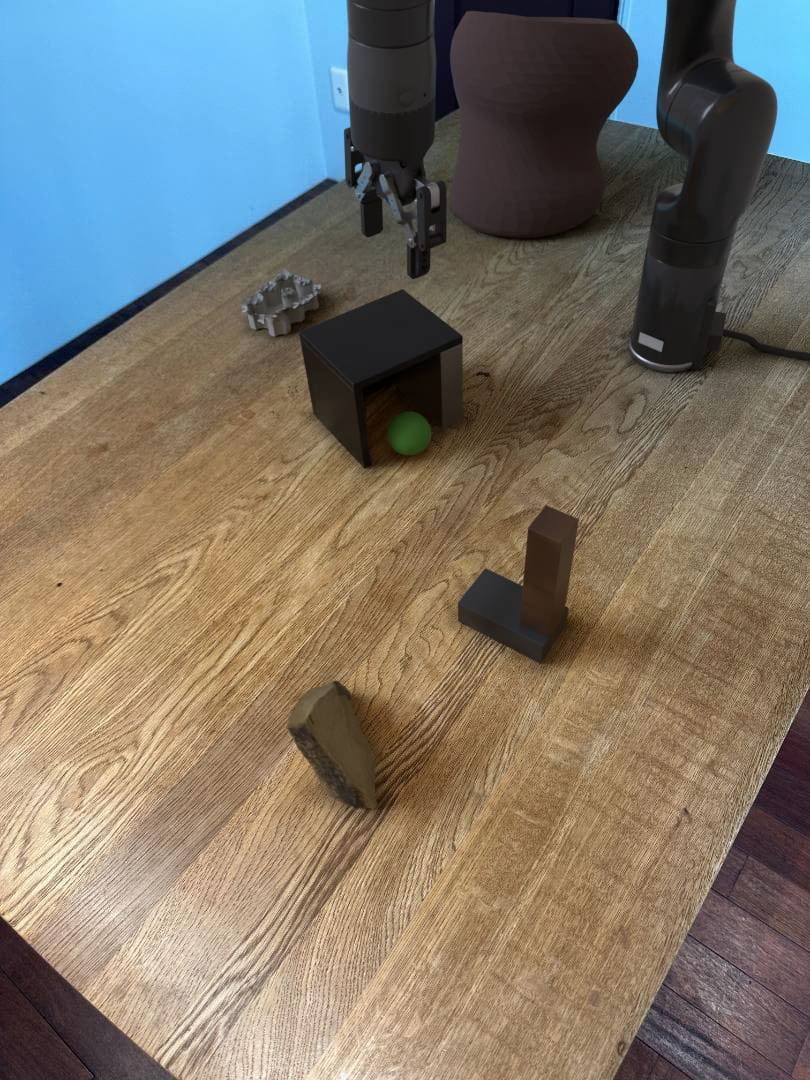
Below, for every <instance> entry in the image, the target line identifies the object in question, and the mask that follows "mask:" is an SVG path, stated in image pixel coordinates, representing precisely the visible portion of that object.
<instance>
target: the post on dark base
mask: <svg viewBox="0 0 810 1080" xmlns="http://www.w3.org/2000/svg"><path fill="white" fill-rule="evenodd" d="M579 522H580V519H579V518H577V517H575V516H573V515H570V514H568V513H566V512H563V511H561V510H559V509H556V508H554V507H551V506H549V505H548V504H547V505H546V504H545V506H543V508H542V509H541V511H540V512H539V513H538V515H537V516H536V517H535V518H534V520H533V521H531V523H530V525H528V527H527V533H526V536H527V537H526V545H525V557H524V569H523V579H522V584H520V583H518V582H516V581H513V580H511V579H510V578H507V577H505V576H503V575H501V574H500V573H497V572H495V571H492V570H491V569H489V568H487V567H485V568H484V569H483V570H482V571H481V573H480V574H479V575H478V576H477V578H476V579H475V580H474V581H473V583H472V584H471V585H470V586H469V588H468V589H467V591H465V593H464V594H463V596H461V598H460V599H459V600H458V602H457V622H458V623H460V624H462V625H464V626H466V627H468V628H470V629H472V630H474V631H475V632H477V633H480V634H481V635H483V636H486V637H488V638H490V639H491V640H494V641H495V642H497V643H499V644H501V645H503V646H505V647H506V648H509V649H511V650H513V651H515V652H517V653H519V654H520V655H522V656H524V657H526V658H528V659H529V660H532V661H534V662H536V663H538V664H540V665H541V664H543V662H544V660H545V659H546V657H547V656H548V655H549V653H550V651H551V650H552V648H553V647H554V645H556V642H557V641H558V639H559V638H560V636H561V635H562V634H563V632H564V630H566V628H567V623H568V616H569V611H570V608H569V607H568V606H567V599H568V594H569V593H568V592H569V586H570V579H571V573H572V567H573V561H574V554H575V547H576V541H577V535H578V527H579Z"/></svg>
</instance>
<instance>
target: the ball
mask: <svg viewBox="0 0 810 1080" xmlns="http://www.w3.org/2000/svg"><path fill="white" fill-rule="evenodd" d="M386 431H387V432H386V434H387V435H386V436H387V440H388V443H389V445H390V446H391V448H392V449H393V450H394V451H395V452H396V453H398V454H401V455H403V456H416V455H418V454H420V453H422V452H423V451H424V450H425V449H426V448H427V447H428V445H429V443H430V441H431V438H432V429H431V425H430V423H429V421H428V420H427V418H426V417H424V416H423V415H422V414H420V413H418V412H415V411H409V410H407V411H402V412H400V413H398V414H396V415H395V416H394V417H392V419H391V420H390V422H389V424H388V426H387V430H386Z"/></svg>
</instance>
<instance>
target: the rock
mask: <svg viewBox="0 0 810 1080" xmlns="http://www.w3.org/2000/svg"><path fill="white" fill-rule="evenodd" d="M286 730H287V731H288V733H289V735H290V737H291V739H292V740H293V743H294V744H295V746H296V748H297V750H298V751H299V752H300V753H301V755H302V756H303V758H305V759H306V760H307V763H308V764H309V765H310V766H311V767H312V768H311V769H312V771H313V773H314V775H315V776H316V778H317V781H318V782H319V784H320V786H321V787H322V789H323V791H324V793H325V794H326V795H327V796H329V797H330V798H332V799H333V800H337V801H338V802H340V803H343V804H346V805H348V806H350V807H352V808H359V809H370V810H375V809H376V808H377V807H378V801H377V799H376V783H375V781H376V776H377V775H376V767H377V765H376V763H375V758H374V756H373V752H372V747H371V746H370V744H369V742H368V739H367V737H366V736H365V735H364V733H363V730H362V725H361V724H360V722H359V720H358V718H357V717H356V715H355V714H354V698H353V695H352V693H351V691H350V690H349V689H348V688H347V687H346V686H345V685H342V683H341V682H339V681H338V680H332V681H329V682H328V683H326V684H324V685H322V686H317V687H311V688H310V689H308V690H307V691H306V693H304V694H303V695H302V696H300V697H299V698H297V704H296V705H295V706H294V708H293V709H292V711H291V712H290V714H289V716H288V717H287V720H286Z"/></svg>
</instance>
